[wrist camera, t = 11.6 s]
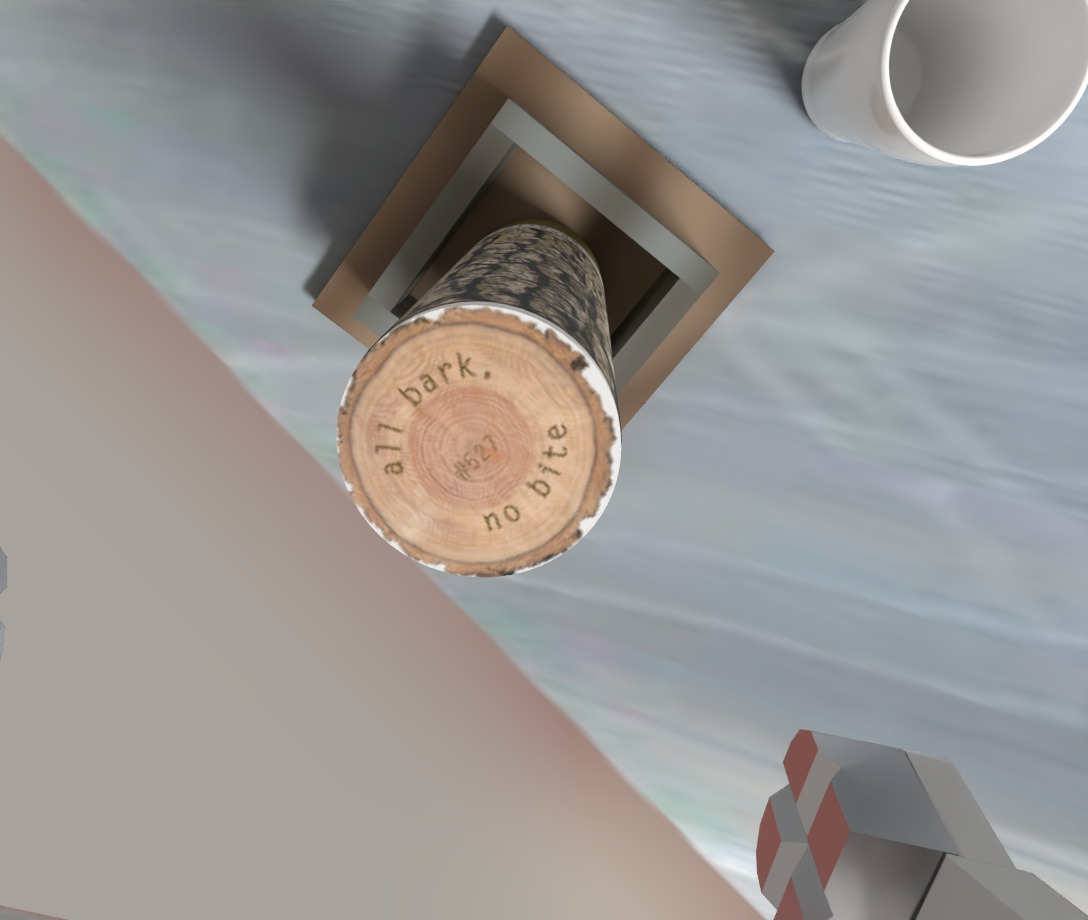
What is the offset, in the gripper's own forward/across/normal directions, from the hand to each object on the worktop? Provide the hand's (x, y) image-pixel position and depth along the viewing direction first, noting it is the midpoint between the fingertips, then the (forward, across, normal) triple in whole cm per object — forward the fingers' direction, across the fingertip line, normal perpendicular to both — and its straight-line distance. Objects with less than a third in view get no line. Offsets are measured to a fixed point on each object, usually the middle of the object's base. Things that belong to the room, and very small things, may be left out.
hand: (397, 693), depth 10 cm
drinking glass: (+39, -12, -11) cm, 42 cm away
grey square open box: (+39, 0, +1) cm, 39 cm away
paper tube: (+38, 0, +2) cm, 38 cm away
